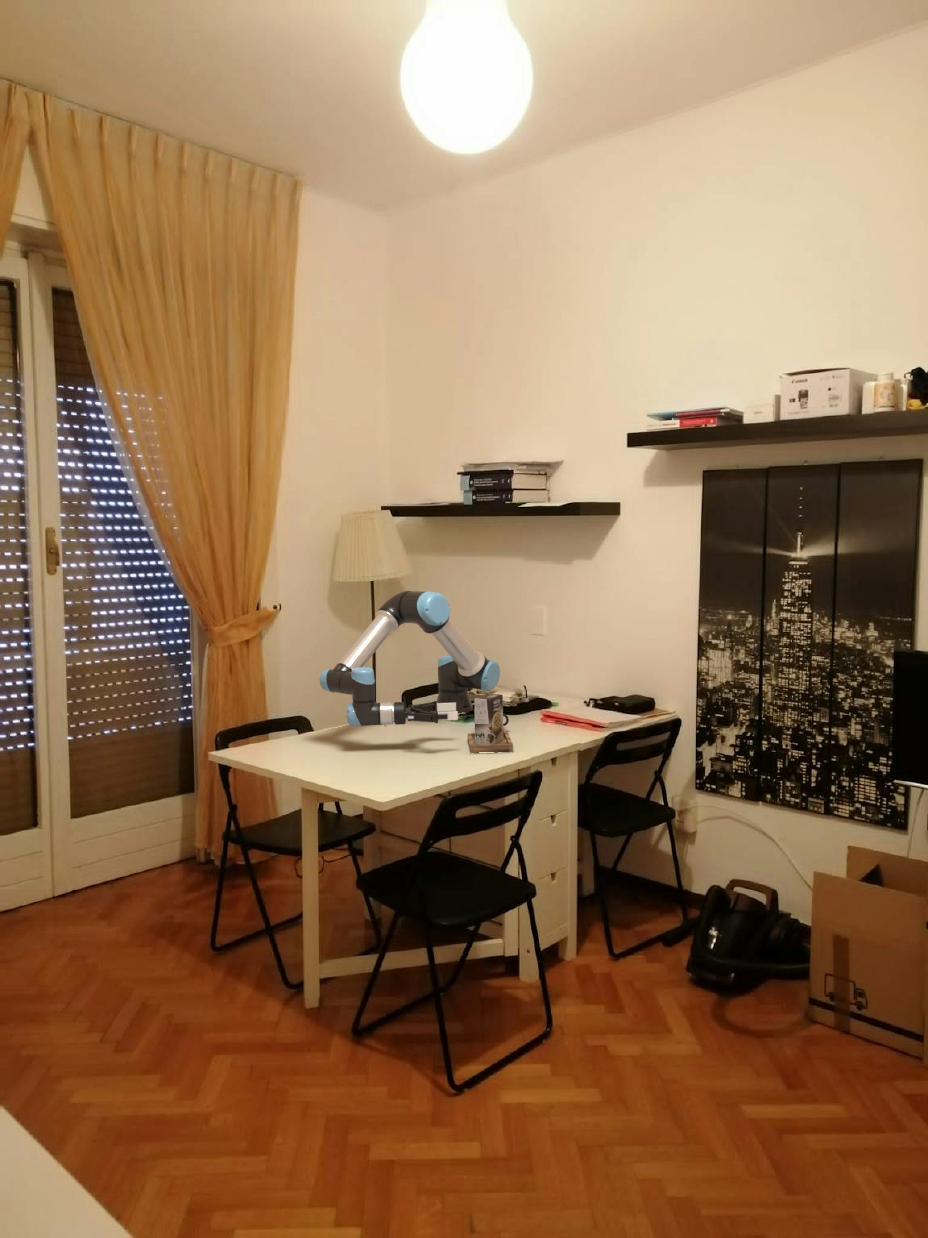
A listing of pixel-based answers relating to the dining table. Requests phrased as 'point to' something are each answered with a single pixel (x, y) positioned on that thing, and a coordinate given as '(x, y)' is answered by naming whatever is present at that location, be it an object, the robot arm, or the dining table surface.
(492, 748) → the tray
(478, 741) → the coffee box
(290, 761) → the dining table surface
